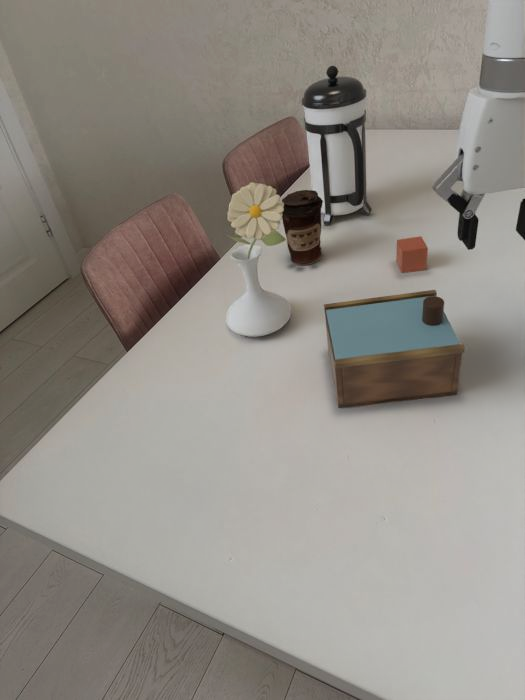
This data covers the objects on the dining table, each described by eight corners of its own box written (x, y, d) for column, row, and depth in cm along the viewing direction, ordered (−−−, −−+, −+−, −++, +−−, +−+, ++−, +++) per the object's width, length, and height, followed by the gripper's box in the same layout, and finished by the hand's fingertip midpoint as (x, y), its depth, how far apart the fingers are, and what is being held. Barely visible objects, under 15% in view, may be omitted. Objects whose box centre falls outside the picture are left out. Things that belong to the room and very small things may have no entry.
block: (420, 257, 95) (421, 236, 92) (426, 269, 91) (427, 247, 88) (396, 260, 95) (396, 239, 92) (401, 273, 92) (402, 251, 89)
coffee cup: (332, 264, 98) (327, 201, 90) (291, 273, 97) (282, 211, 89) (321, 244, 104) (315, 184, 96) (282, 252, 104) (274, 193, 96)
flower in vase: (217, 338, 85) (179, 199, 69) (243, 300, 93) (214, 167, 77) (288, 348, 80) (266, 200, 64) (309, 307, 88) (294, 166, 72)
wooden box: (431, 337, 77) (435, 289, 71) (458, 397, 67) (465, 347, 61) (327, 350, 78) (323, 304, 73) (338, 411, 68) (335, 363, 63)
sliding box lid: (435, 298, 71) (437, 277, 69) (460, 347, 62) (463, 325, 60) (326, 312, 72) (324, 292, 70) (335, 362, 64) (334, 341, 62)
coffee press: (293, 223, 114) (275, 78, 95) (327, 194, 123) (317, 57, 104) (362, 234, 105) (358, 77, 86) (394, 202, 114) (396, 54, 95)
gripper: (595, 48, 50) (556, 215, 61) (421, 78, 51) (414, 236, 63) (640, 62, 44) (587, 244, 55) (442, 95, 46) (430, 266, 57)
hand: (495, 238), depth 59 cm, fingers open, 5 cm apart
